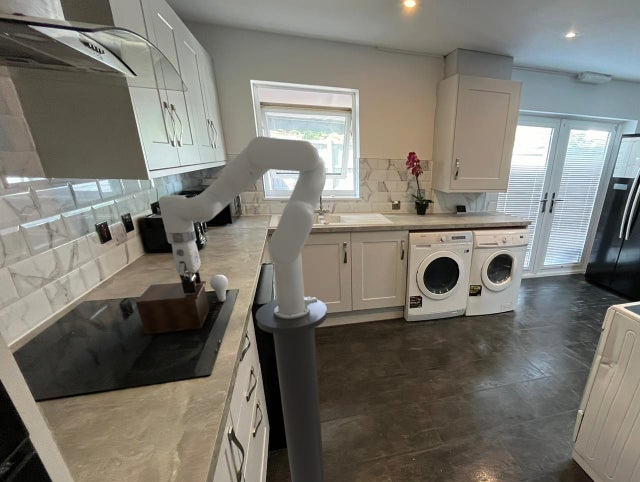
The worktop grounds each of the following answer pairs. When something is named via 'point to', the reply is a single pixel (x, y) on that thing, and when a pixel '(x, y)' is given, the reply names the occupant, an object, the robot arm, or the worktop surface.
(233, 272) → the worktop surface
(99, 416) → the worktop surface
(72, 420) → the worktop surface
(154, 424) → the worktop surface
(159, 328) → the chest
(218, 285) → the lightbulb
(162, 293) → the lid
